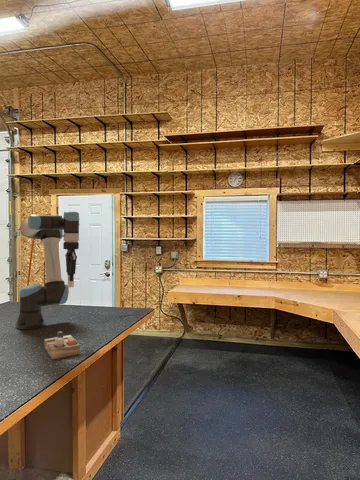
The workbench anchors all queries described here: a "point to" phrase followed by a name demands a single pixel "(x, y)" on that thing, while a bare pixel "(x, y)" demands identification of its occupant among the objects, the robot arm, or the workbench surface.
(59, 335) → the fader knob
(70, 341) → the button
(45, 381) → the workbench surface
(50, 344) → the console
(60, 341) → the button
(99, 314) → the workbench surface
